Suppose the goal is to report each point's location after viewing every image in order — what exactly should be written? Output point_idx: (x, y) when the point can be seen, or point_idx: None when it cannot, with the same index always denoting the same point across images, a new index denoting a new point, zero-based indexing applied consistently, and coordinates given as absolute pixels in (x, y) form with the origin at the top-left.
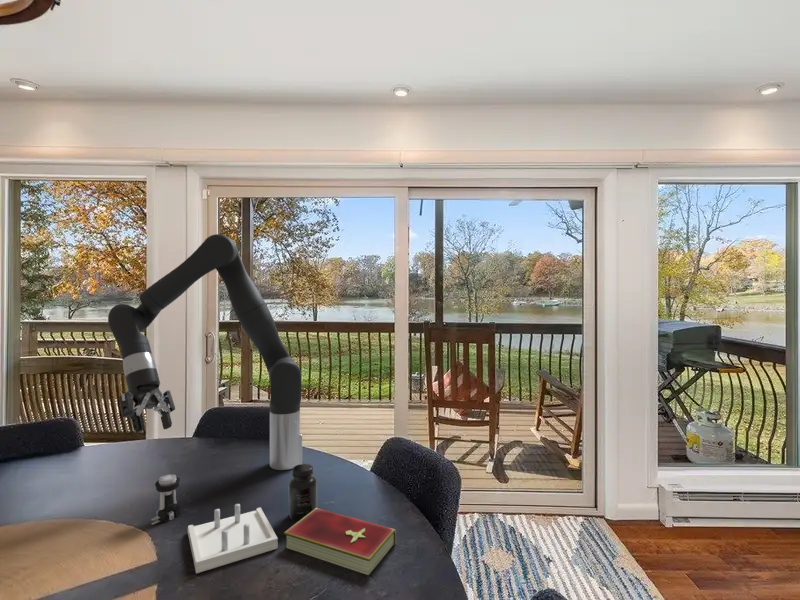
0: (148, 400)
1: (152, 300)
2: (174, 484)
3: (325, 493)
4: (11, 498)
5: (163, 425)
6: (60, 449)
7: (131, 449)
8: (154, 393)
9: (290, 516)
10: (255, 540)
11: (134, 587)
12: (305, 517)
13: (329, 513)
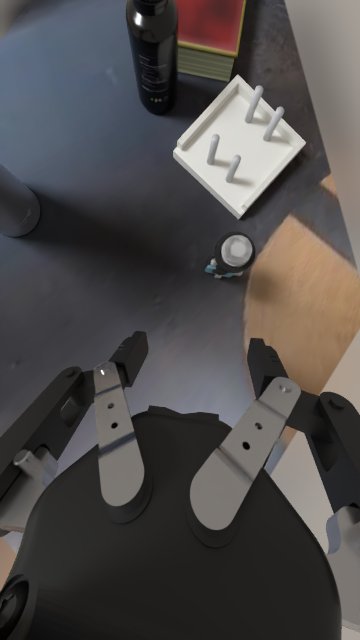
0: (197, 454)
1: None
2: (239, 232)
3: (89, 92)
4: None
5: (143, 358)
6: None
7: None
8: (135, 495)
9: (174, 100)
10: (239, 112)
11: (330, 200)
12: (195, 43)
13: None
